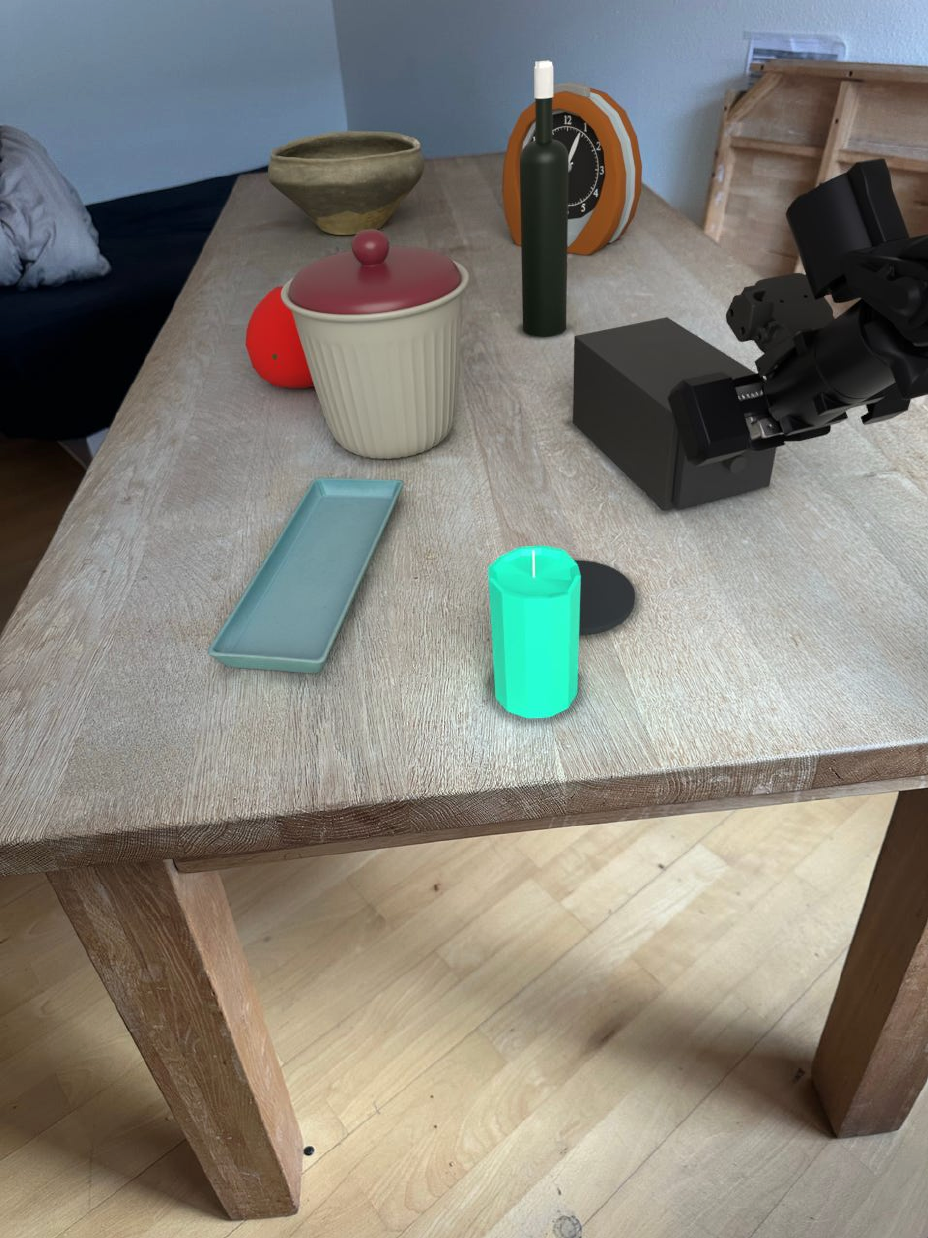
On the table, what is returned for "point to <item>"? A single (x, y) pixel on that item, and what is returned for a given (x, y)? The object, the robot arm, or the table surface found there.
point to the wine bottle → (544, 218)
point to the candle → (535, 630)
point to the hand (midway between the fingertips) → (736, 436)
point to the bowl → (347, 177)
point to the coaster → (603, 597)
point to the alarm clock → (583, 166)
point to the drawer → (720, 476)
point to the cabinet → (640, 395)
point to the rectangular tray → (308, 578)
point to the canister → (382, 343)
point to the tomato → (277, 344)
